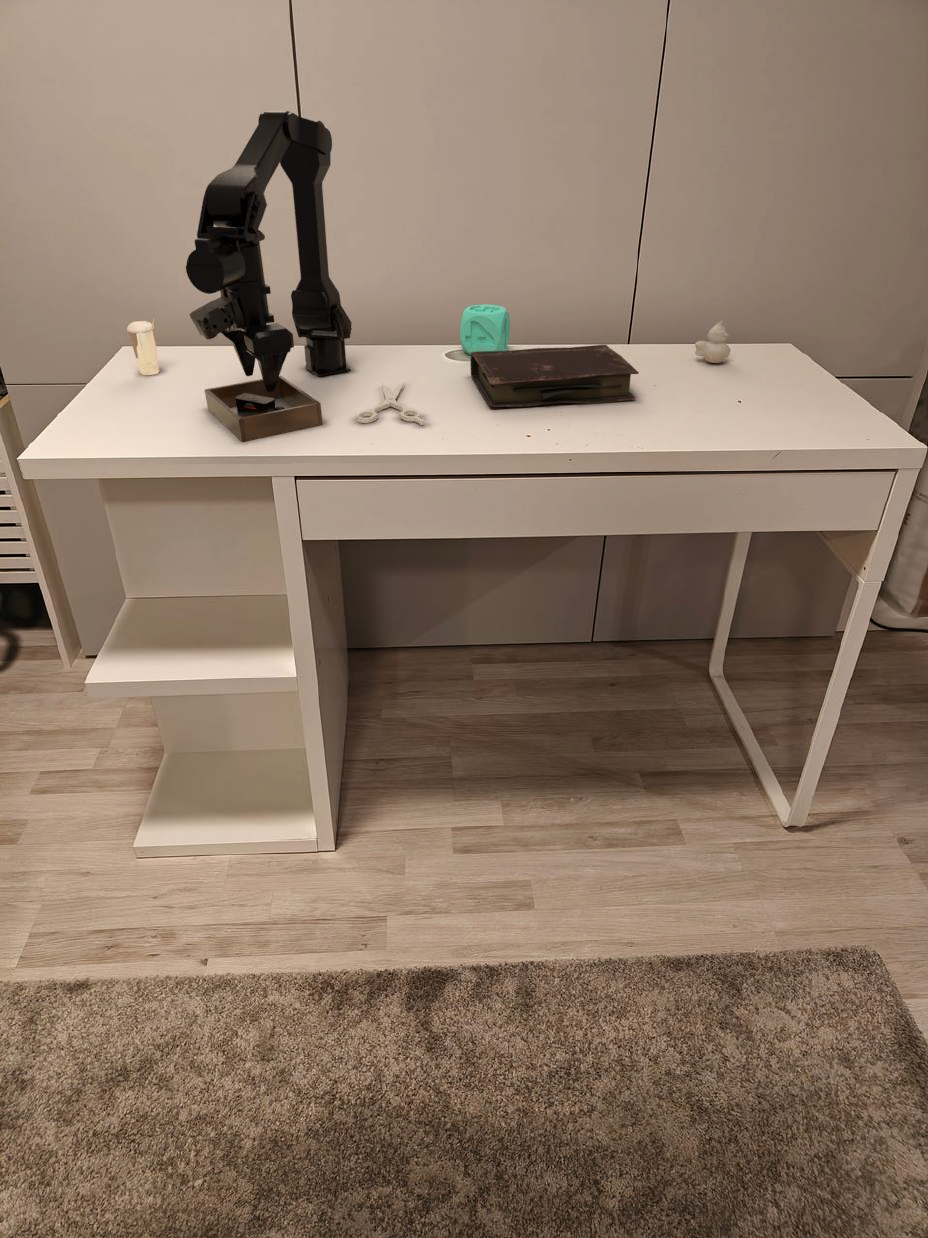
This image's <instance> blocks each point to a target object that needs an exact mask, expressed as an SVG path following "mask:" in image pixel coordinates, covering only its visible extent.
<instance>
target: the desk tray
mask: <svg viewBox="0 0 928 1238" xmlns="http://www.w3.org/2000/svg"><path fill="white" fill-rule="evenodd" d="M244 393H249V394H254V395H259V396H264V397H270V398H274V399H275V400H276V399H280V398H282V399H284V400H285V401H286V402H287V403H289V404H290V405H292V407H289V408H288V407H287V408H285V409H283V410H278V411H273V412H268V413H263V414H258V415H253V416H248V417H240V416H238V413H236V412H235V410H233V409H232V408H234V407H236V401H235V397H237V396H239V395H241V394H244ZM204 395H205V400H206V406H207V411H208V412H209V413H211V415H213V416H214V417H215V418H216V419H217V420H218V421H219V422H220V423H221V424H222V425H223V426H224V427H226V428H227V429H228V430H229V431H230V432H231V433H232V434H233V435H234V436H236V438H237V439H239V440H240V441H241V442H244V443H245V442H248V441H249V442H250V441H252V440H257V439H262V438H267V437H271V436H276V435H282V434H285V433H290V432H295V431H299V430H304V429H308V428H313V427H318V426H323V424H324V423H323V414H322V404H321V402H320V401H318V400H316V398H314V397H312V396H311V395H310V394H308V393H306V392H305V391H304V390H302V389H301V388H300V387H298V386H297V385H295V384H294V383H293V382H291V381H289V380H288V379H286V378H285V377H284V376H282V375H279V378H278V381H277V384H276V387H275V390H274V391H273V392H267V391H266V388H265V385H264V382H263V378H260V379H255V380H249V381H243V382H237V383H233V384H226V385H222V386H221V385H220V386H217V387H216V386H215V387H211V388H205V389H204Z"/></svg>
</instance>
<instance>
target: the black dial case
mask: <svg viewBox="0 0 928 1238" xmlns="http://www.w3.org/2000/svg"><path fill="white" fill-rule="evenodd" d="M235 401H236V406H235V407H236V412H237V413H236V414H237V415H238V416H240V417H241V418H243V417H248V416H253V415H258V414H263V413H268V412H273V411H278V410H283V409H286V408H285V407H283V406H281V405H278V406H276V398H275V399H274V398H270V397H264V396H259V395H254V394H249V393H244V394H241V395H239V396H237V397H235Z"/></svg>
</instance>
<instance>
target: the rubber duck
mask: <svg viewBox="0 0 928 1238" xmlns="http://www.w3.org/2000/svg"><path fill="white" fill-rule="evenodd" d="M729 336H730V335H729V334H728V333H727V331H726V327H725V326H724V325H723V319H721V320H720V321H719V322H717V323H716V324H715V325H713V326H712V328H711V329H710V330H709V332H708V333H707V339H708V340H707V341H705V340H698V341H696V342H695V344H694V345H695V353H694V354H695V355H696V356H697V357H703V359H704V360H705V361H706V362H708V363H710V364H719V363H722V362H725V360H726V359H728V358H729V356H730V355H731V348H730V346H729V344H727V342H726V341H727V338H728V337H729Z"/></svg>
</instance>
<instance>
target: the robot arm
mask: <svg viewBox="0 0 928 1238" xmlns="http://www.w3.org/2000/svg"><path fill="white" fill-rule="evenodd" d="M257 121H258V124H257V126H256V128H255V130H254V131H253V133H252V134H251V137H250V138H249V140H248V141H247V143H246V144H245V146H244V148H243V150H242V151H241V153H240V155H239V157H238V159H237V160H236V162H235V163H234V165H233V166H232V167H231V168H229V169H227V170H225V171H222V172H220V173H219V174H217V175H216V176H215V177H214V178H213V179H212V180H211V181H210V182H209V183H208V185H207V186H206V188H205V191H204V193H203V198H202V204H201V209H200V214H199V221H198V227H197V231H196V239H194V247H195V249H194V250H193V251H191V252H190V254H189V255H188V257H187V260H186V265H185V271H186V275H187V278H188V280H189V281H190V283H191V284H192V286H193V287H194V288H195V289H196V290H197V291H199V292H201V293H203V294H206V295H207V294H208V295H212V294H215V293H218V292H220V297H218V298H216V299H213V300H211V301H209V302H207V303H205V304H204V305H202V306H200V307H198V308H196V309H195V310H193V311H191V312H190V313H189V317H190V319H191V321H192V323H193V324H194V326H195V328H196V330H197V331H198V334H199V335H200V336H202V337H203V338H204V339H205V340H208V341H209V340H212V339H215V338H216V337H218V335H219V334H220V335H222V336H224V338H226V339H228V340H229V341H230V342H231V344H232V347H233V349H234V351H235V354H236V356H237V359H238V361H239V363H240V366H241V368H242V370H243V373H244V375H245V376H246V377H251V376H253V375H254V371H255V365H256V361H257V364H258V368H259V371H260V374H261V379H263V382H264V385H265V388H266V391H267V392H273V391H274V390H275V387H276V384H277V381H278V378H279V376H281V372H282V369H283V366H284V363H285V361H286V359H287V357H288V353H290V352H291V350H292V349H293V348H294V347H295V342H294V334H293V332H292V331H290V330H289V329H288V328H286V327H285V326H283V325H281V324H279V323H278V322H277V323H275V316H274V314H272V313H271V312H270V311H269V303H268V297H267V296H268V295H270V294H272V292H271V286H270V285H268V284H266V281H265V272H264V265H263V258H262V257H263V256H262V251H261V243H260V242H262V241H264V240H265V239H266V235H265V234H264V233H263V231H261V230H260V229H259V228H260V225H261V223H262V221H263V218H264V215H265V212H266V209H267V206H268V203H267V200H266V196H265V191H266V189H267V186H268V185H269V182H270V181H271V179H272V177H273V176H274V174H275V172H276V170H277V169H278V166H279V165H280V167H281V169H282V170H283V172H284V174H285V175H286V176H287V178H288V179H289V181H290V183H291V187H292V196H293V198H292V199H293V209H294V220H295V229H296V230H295V232H296V238H297V239H296V242H297V251H298V262H299V263H298V264H299V273H300V275H299V276H300V280H299V281H298V283H297V286H296V287H295V290H292V291H291V294H290V299H291V305H292V306H291V307H292V308H291V315H292V320H293V324H294V327H295V330H296V333H297V337H298V338H300V339H301V338H305V343H306V344H305V345H304V346H303V347H304V358H305V369H307V370H308V371H310V372H311V373H312V374H314V375H316V376H317V377H324V376H330V375H336V374H342V373H346V372H351V367H350V366H348V365H347V356H346V343H345V342H346V341H345V340H346V339H347V340H348V339H350V338H351V335H352V329H353V328H352V321H351V319H350V317H349V316H348V314H347V313H346V310H345V309H344V307H343V306H342V302H341V295H340V292H339V290H338V288H337V287H336V285H335V284H334V283H333V281H332V279H331V278H330V272H329V260H328V259H329V257H328V244H327V233H326V231H327V230H326V218H325V204H324V192H323V191H324V189H323V182H324V180H325V178H326V176H327V173H328V171H329V169H330V167H331V163H332V162H331V161H332V160H331V159H332V158H331V152H332V149H333V138H332V133H331V131H330V130H329V129H328V128H327V127H326V126H325V124H324V122H323V121H321V120H311V119H308V118H305V117H301V116H299V115H297V114H296V113H294V112H291V111H289V110H265V111H264V112H261V113H260V114H259V116H258V120H257Z"/></svg>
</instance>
